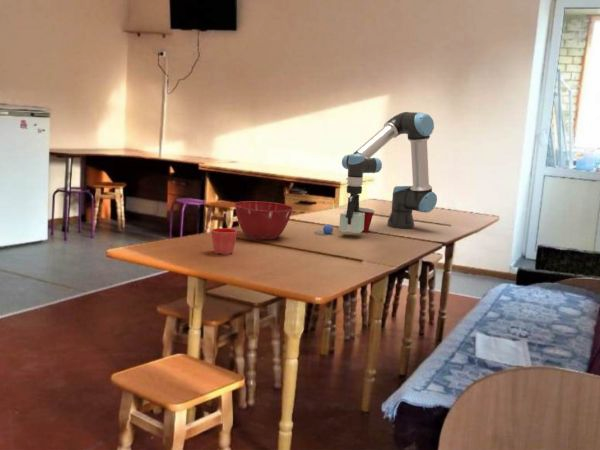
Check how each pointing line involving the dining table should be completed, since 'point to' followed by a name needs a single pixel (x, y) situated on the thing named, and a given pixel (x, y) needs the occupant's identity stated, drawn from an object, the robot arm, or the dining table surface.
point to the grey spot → (322, 233)
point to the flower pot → (224, 240)
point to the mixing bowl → (262, 218)
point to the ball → (328, 229)
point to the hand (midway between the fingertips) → (351, 228)
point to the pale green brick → (357, 222)
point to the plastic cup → (367, 217)
